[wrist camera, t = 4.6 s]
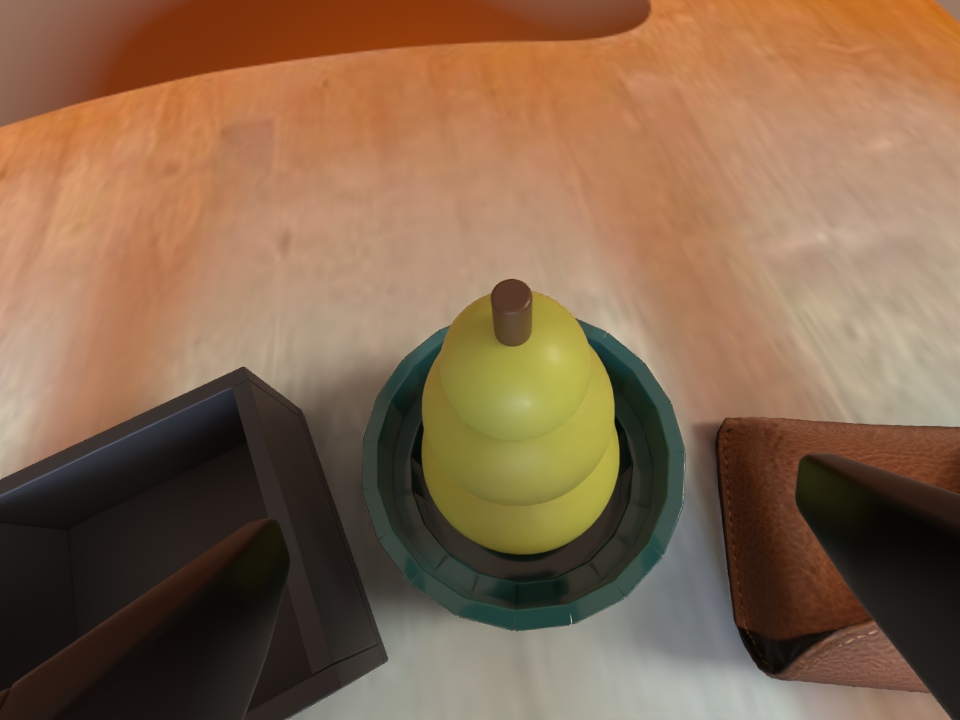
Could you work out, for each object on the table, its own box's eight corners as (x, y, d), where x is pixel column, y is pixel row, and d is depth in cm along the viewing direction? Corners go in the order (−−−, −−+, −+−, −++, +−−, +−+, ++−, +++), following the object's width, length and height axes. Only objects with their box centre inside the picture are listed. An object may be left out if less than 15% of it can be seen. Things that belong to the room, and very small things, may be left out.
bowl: (679, 601, 16) (732, 608, 12) (401, 631, 16) (360, 648, 12) (616, 349, 20) (639, 291, 16) (395, 378, 20) (362, 328, 16)
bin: (389, 660, 16) (341, 689, 12) (92, 829, 15) (-79, 927, 11) (302, 409, 20) (243, 365, 16) (65, 523, 19) (-64, 508, 15)
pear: (517, 599, 16) (499, 644, 5) (408, 467, 18) (228, 294, 7) (637, 476, 17) (833, 294, 6) (521, 367, 19) (518, 93, 8)
